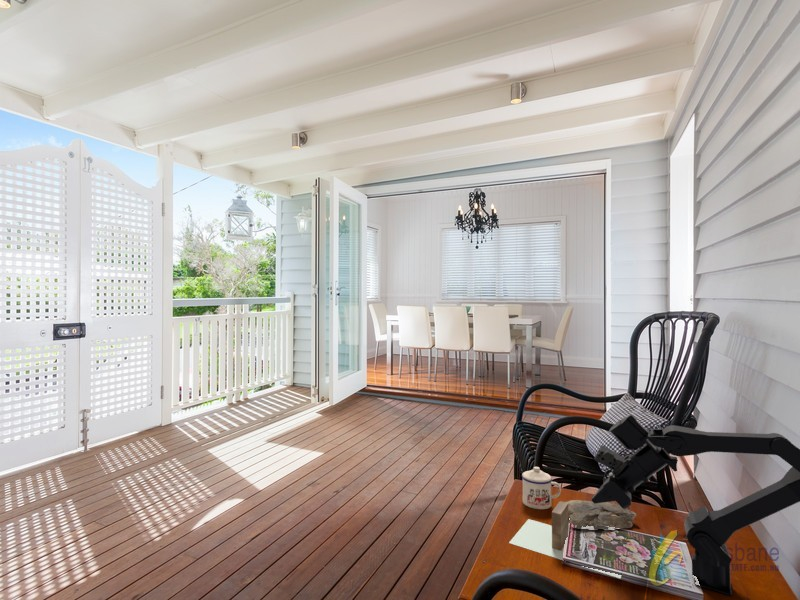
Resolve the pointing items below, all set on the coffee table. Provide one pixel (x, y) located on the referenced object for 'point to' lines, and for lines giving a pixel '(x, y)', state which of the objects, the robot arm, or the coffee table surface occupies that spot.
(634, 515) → the grey rock
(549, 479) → the teacup with lid
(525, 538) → the sage mat
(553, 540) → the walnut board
